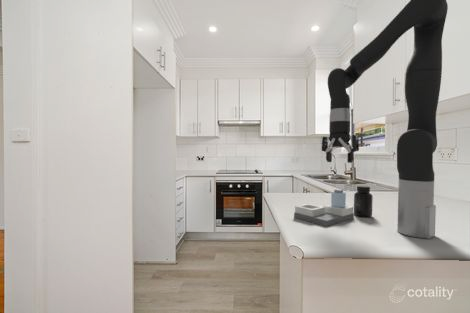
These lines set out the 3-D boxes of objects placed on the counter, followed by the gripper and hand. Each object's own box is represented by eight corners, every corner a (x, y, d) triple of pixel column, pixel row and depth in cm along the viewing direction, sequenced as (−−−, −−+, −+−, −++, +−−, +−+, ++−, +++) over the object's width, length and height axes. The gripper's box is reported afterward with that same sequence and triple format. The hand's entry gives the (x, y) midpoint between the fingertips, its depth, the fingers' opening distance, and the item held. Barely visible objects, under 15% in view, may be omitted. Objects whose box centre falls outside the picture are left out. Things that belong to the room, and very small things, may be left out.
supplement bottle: (375, 217, 99) (376, 187, 99) (358, 217, 99) (359, 187, 99) (366, 213, 106) (367, 185, 106) (350, 213, 106) (351, 185, 106)
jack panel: (353, 218, 98) (353, 206, 98) (326, 226, 86) (326, 213, 86) (322, 211, 109) (322, 201, 109) (294, 217, 98) (294, 206, 97)
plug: (345, 212, 98) (345, 190, 98) (340, 214, 96) (340, 191, 96) (336, 211, 101) (336, 188, 101) (331, 212, 99) (331, 189, 99)
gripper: (362, 120, 95) (362, 162, 95) (328, 123, 106) (328, 161, 106) (352, 118, 90) (352, 163, 90) (318, 122, 101) (317, 161, 102)
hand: (339, 162), depth 98 cm, fingers open, 8 cm apart
